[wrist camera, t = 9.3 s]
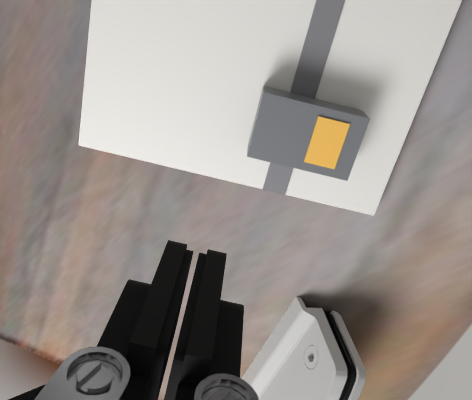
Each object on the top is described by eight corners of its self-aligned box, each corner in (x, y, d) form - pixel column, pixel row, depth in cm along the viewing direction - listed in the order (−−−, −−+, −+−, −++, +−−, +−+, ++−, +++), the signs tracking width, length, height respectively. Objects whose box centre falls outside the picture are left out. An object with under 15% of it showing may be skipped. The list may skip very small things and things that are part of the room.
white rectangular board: (111, -133, 30) (103, -139, 29) (467, -36, 32) (478, -38, 30) (85, 140, 39) (78, 145, 37) (369, 208, 40) (374, 216, 38)
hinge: (298, 293, 44) (343, 379, 36) (334, 300, 46) (385, 383, 38) (226, 400, 50) (251, 493, 42) (261, 402, 53) (291, 492, 44)
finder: (263, 85, 34) (263, 92, 32) (362, 110, 35) (370, 119, 32) (247, 145, 36) (246, 157, 34) (341, 168, 37) (347, 181, 34)
